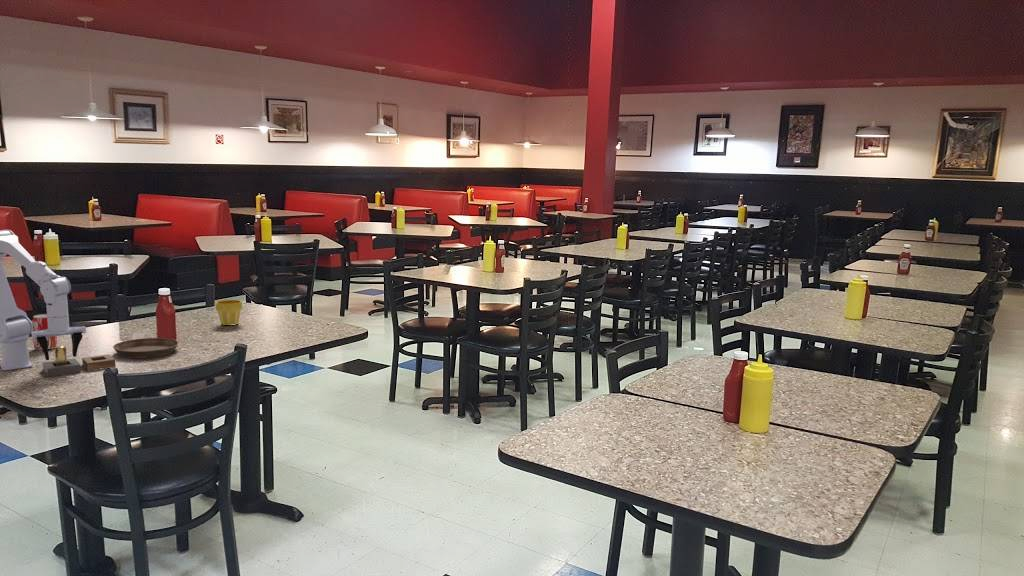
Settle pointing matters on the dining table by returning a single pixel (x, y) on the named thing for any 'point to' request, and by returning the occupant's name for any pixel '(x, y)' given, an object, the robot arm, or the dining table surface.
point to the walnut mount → (98, 362)
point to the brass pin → (60, 355)
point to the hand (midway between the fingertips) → (61, 357)
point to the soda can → (42, 324)
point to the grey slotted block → (61, 367)
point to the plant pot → (229, 311)
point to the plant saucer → (145, 347)
